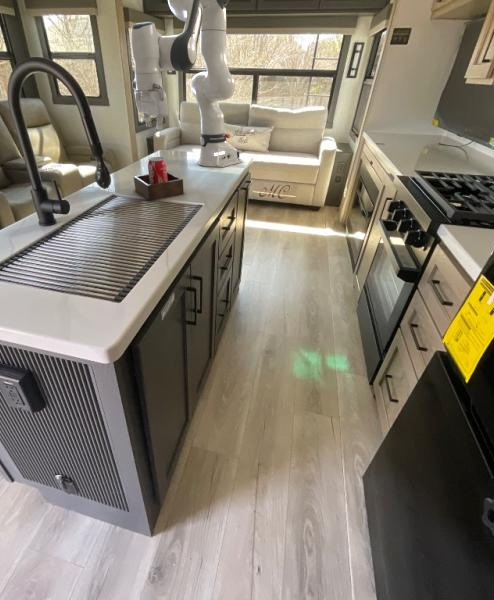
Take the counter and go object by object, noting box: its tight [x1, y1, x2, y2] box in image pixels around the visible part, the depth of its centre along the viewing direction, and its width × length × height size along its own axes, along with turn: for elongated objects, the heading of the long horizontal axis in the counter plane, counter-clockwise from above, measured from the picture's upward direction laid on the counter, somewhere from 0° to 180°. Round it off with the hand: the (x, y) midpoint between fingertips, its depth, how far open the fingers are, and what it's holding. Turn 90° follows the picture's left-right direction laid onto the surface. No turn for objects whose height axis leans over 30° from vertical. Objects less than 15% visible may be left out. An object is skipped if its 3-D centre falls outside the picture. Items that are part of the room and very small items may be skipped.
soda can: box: [147, 156, 168, 184], centre depth 128 cm, size 7×7×12 cm
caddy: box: [133, 171, 185, 201], centre depth 130 cm, size 15×15×6 cm
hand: (154, 128), depth 120 cm, fingers open, 8 cm apart
